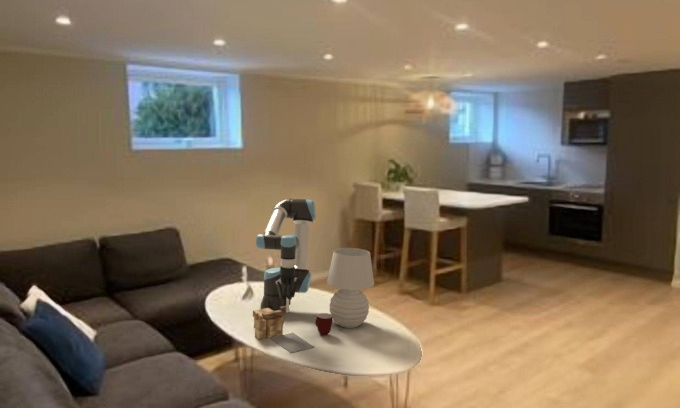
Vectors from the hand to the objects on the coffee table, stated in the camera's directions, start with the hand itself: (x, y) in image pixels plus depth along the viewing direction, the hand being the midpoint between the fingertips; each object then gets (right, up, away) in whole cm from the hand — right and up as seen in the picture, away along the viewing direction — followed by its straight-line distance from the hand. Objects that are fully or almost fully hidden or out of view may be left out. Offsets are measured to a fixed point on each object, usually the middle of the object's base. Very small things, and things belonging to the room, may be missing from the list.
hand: (286, 311), depth 261 cm
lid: (-9, -4, +1) cm, 10 cm away
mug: (+18, -12, +1) cm, 22 cm away
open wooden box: (-12, -11, 0) cm, 16 cm away
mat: (+4, -13, -12) cm, 18 cm away
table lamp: (+32, -11, +16) cm, 37 cm away
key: (-6, -2, -4) cm, 7 cm away
